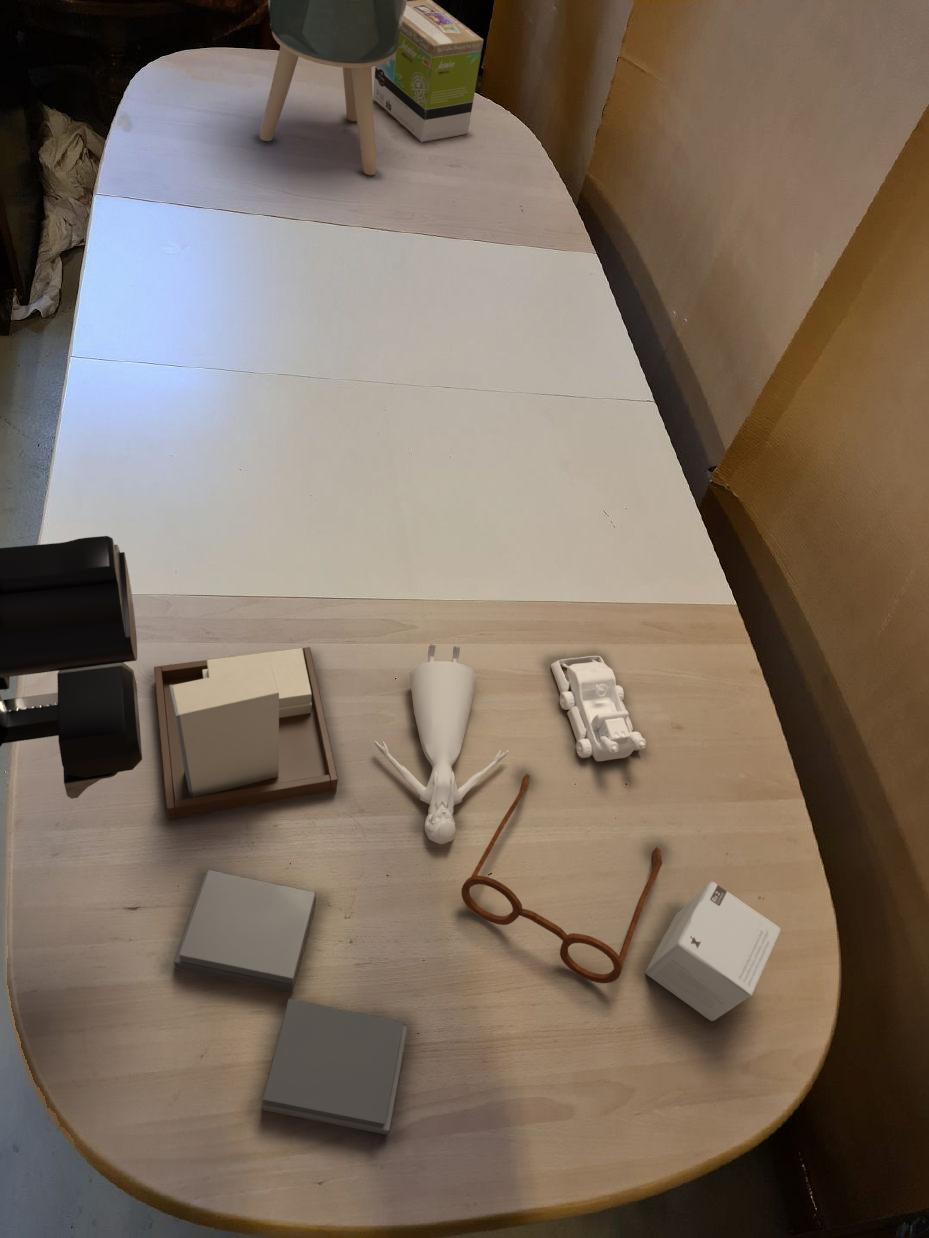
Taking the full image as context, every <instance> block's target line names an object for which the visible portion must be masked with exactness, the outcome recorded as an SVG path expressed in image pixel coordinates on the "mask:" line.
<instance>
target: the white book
mask: <svg viewBox="0 0 929 1238" xmlns="http://www.w3.org/2000/svg"><path fill="white" fill-rule="evenodd" d="M169 687H170V693H171V698H172V704H173V710H174V715H175V721H176V727H177V732H178V738H179V744H180V749H181V755H182V761H183V766H184V772H185V777H186V781H187V786H188V790H189V795H190V798H194V797H200V796H205V795H208V794H212V793H216V792H220V791H224V790H228V789H232V788H236V787H240V786H244V785H248V784H252V783H256V782H259V781H263V780H267V779H271V778H275V777H278V770H279V691H278V687H277V684H276V681H275V677H274V674H273V671H272V667H271V665H266V666H261V667H257V668H252V669H247V670H242V671H238V672H233V673H228V674H223V675H219V676H214V677H209V678H204V679H200V680H195V681H190V682H185V683H181V684H176V685H169Z"/></svg>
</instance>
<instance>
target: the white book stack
mask: <svg viewBox="0 0 929 1238" xmlns="http://www.w3.org/2000/svg"><path fill="white" fill-rule="evenodd" d="M302 648H303V647H298V648H291V649H282V650H274V651H266V652H259V653H251V654H250V653H249V654H243V655H235V656H228V657H227V656H226V657H220V658H212V659H206V660H207V667H208V669H203V670H202V672H203V679H204V678H209V677H214V676H219V675H223V674H228V673H233V672H238V671H242V670H247V669H252V668H257V667H261V666H266V665H271V667H272V671H273V674H274V677H275V681H276V684H277V687H278V691H279V718H282V717H288V716H295V715H302V714H309V713H311V709H312V703H311V695H312V693H311V689H310V684H309V679H308V674H307V669H306V664H305V659H304V654H303V649H304V648H303V649H302Z"/></svg>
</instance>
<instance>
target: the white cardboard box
mask: <svg viewBox="0 0 929 1238" xmlns="http://www.w3.org/2000/svg"><path fill="white" fill-rule="evenodd" d="M781 931H782V929H781V927H780V926H778V925H776V924H775V923H774V922H772V921H771V920H770V919H768V918H767V917H765V916H764V915H762V914H761V913H759V912H758V911H757V910H755V909H754V908H752V907H750V906H749V905H748V904H747V903H745V902H743V901H742V900H740V899H739V898H738V897H736V896H735V895H733V894H732V893H730V892H729V891H727V890H726V889H725V888H724V887H721V885H719V884H718V883H716V882H714V881H709V883H707V884H706V886H704V887H703V889H701V890H700V891H699V892H698V893H697V894H696V895H695V896H694V897H693V898H692V899H691V900H690V901H689V902H688V903H687V904H686V905H685V906H683V908H682V909H681V910H679V911H678V912H677V913H676V914H675V916H674V917H673V918H672V921H671V922H670V924H669V926H668V928H667V929H666V932H665V934H664V935H663V937H662V939H661V940H660V942H659V944H658V946H657V948H656V950H655V952H654V954H653V956H652V958H651V960H650V962H649V963H648V966H647V968H646V970H645V974H646V975H647V976H648V977H649V978H651V979H652V980H654V981H655V982H656V983H658V984H659V985H660V986H662V987H663V988H664V989H666V990H667V991H668V992H670V993H671V994H673V995H674V996H675V997H677V998H678V999H680V1000H681V1001H683V1002H684V1003H685V1004H687V1005H688V1006H689V1007H690V1008H692V1009H694V1010H695V1011H696V1012H698V1013H699V1014H700V1015H701V1016H703V1017H704V1018H706V1019H708V1020H709V1021H710V1022H714V1021H716V1020H717V1019H718V1018H720V1017H722V1016H723V1015H725V1014H726V1013H727V1012H730V1010H732V1009H734V1008H735V1007H736V1006H738V1005H740V1004H741V1003H743V1002H745V1001H746V1000H747V999H749V998H750V997H752V996H753V995H754V992H755V990H756V988H757V986H758V983H759V981H760V979H761V977H762V975H763V972H764V971H765V968H766V966H767V964H768V962H769V959H770V957H771V955H772V952H773V950H774V948H775V945H776V943H777V941H778V939H779V937H780V935H781Z"/></svg>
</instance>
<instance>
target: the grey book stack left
mask: <svg viewBox="0 0 929 1238" xmlns="http://www.w3.org/2000/svg"><path fill="white" fill-rule="evenodd" d="M316 895H317V893H316V892H315V891H311V890H306V889H301V888H297V887H293V886H287V885H284V884H278V883H274V882H268V881H263V880H260V879H256V878H255V879H254V878H249V877H245V876H241V875H235V874H231V873H227V872H221V871H216V870H213V869H207V872H206V874H205V873H204V874H203V876H202V878H201V881H200V884H199V887H198V890H197V893H196V896H195V898H194V901H193V904H192V907H191V910H190V913H189V916H188V919H187V922H186V924H185V927H184V930H183V933H182V936H181V939H180V942H179V945H178V948H177V951H176V954H175V957H174V959H173V965H174V968H175V969H177V970H182V971H186V972H190V973H196V974H200V975H206V976H211V977H217V978H221V979H225V980H231V981H235V982H239V983H244V984H249V985H255V986H260V987H265V988H268V989H269V988H270V989H274V990H279V991H284V992H289V993H293V992H294V990H295V985H296V983H297V978H298V975H299V970H300V966H301V962H302V959H303V955H304V951H305V947H306V944H307V939H308V935H309V932H310V927H311V924H312V920H313V916H314V912H315V908H316V905H317V897H316Z"/></svg>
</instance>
